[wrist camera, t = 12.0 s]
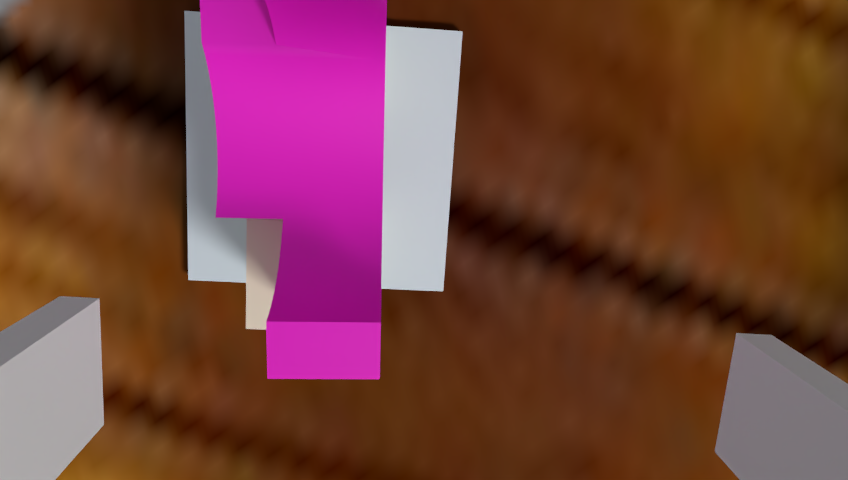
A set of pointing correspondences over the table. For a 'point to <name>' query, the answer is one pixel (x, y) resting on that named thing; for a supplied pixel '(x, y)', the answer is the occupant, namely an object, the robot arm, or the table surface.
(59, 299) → the robot arm
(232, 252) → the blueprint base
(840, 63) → the table surface
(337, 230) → the toy block
